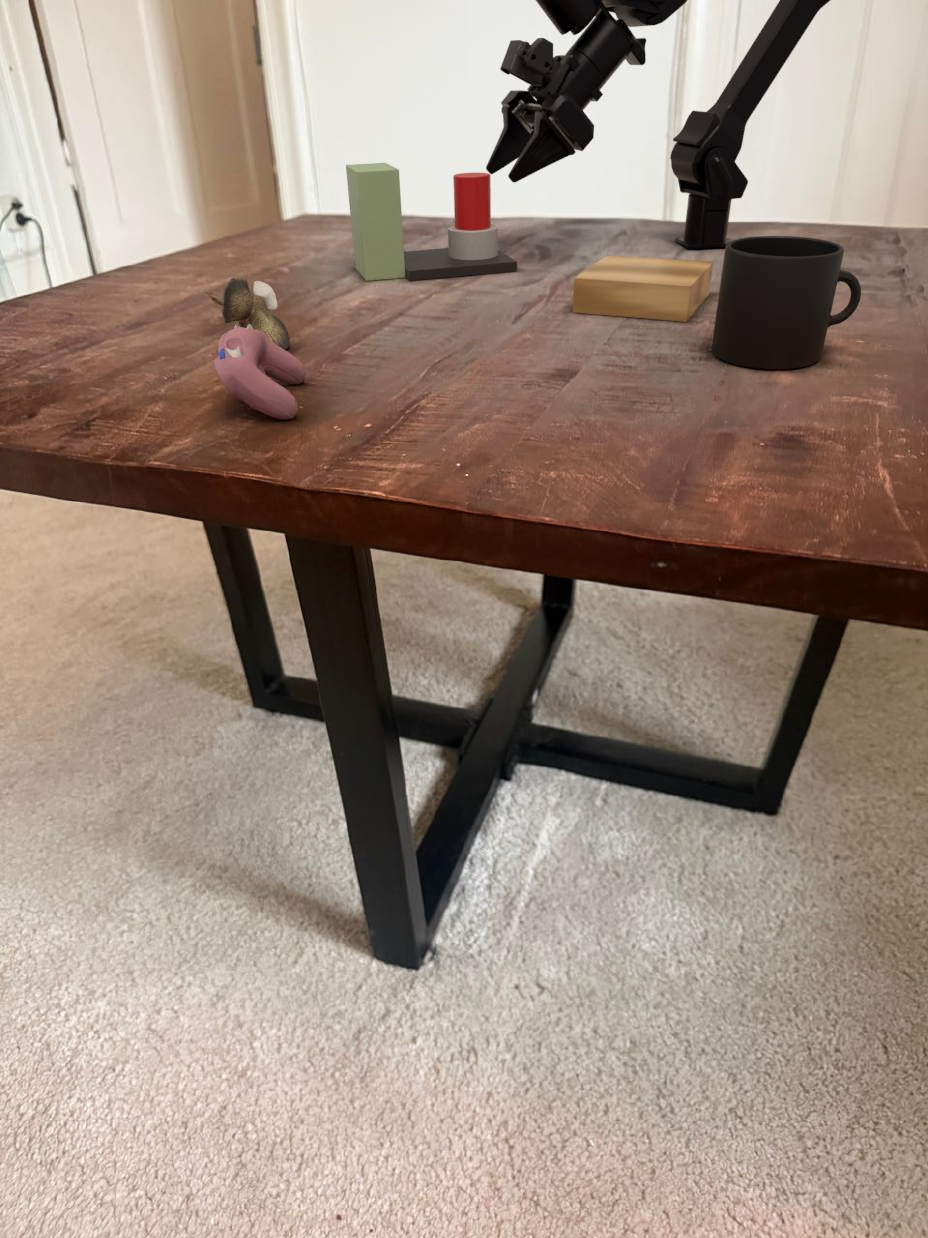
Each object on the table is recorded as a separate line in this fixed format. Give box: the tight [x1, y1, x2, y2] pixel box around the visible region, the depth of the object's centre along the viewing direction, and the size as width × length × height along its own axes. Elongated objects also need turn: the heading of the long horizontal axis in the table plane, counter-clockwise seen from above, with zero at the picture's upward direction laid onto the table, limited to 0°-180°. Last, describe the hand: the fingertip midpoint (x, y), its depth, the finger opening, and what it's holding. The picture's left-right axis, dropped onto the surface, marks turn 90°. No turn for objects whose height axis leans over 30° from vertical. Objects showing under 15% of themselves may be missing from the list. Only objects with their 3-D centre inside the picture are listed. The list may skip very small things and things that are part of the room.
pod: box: [452, 172, 492, 230], centre depth 106 cm, size 5×5×6 cm
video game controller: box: [214, 324, 307, 420], centre depth 67 cm, size 10×5×7 cm, turn 5°
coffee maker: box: [345, 162, 518, 282], centre depth 106 cm, size 19×12×12 cm, turn 106°
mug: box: [711, 235, 862, 370], centre depth 73 cm, size 9×12×9 cm
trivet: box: [572, 254, 714, 323], centre depth 90 cm, size 12×12×4 cm
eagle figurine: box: [205, 277, 291, 350], centre depth 81 cm, size 8×7×9 cm
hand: (499, 175), depth 105 cm, fingers open, 9 cm apart
